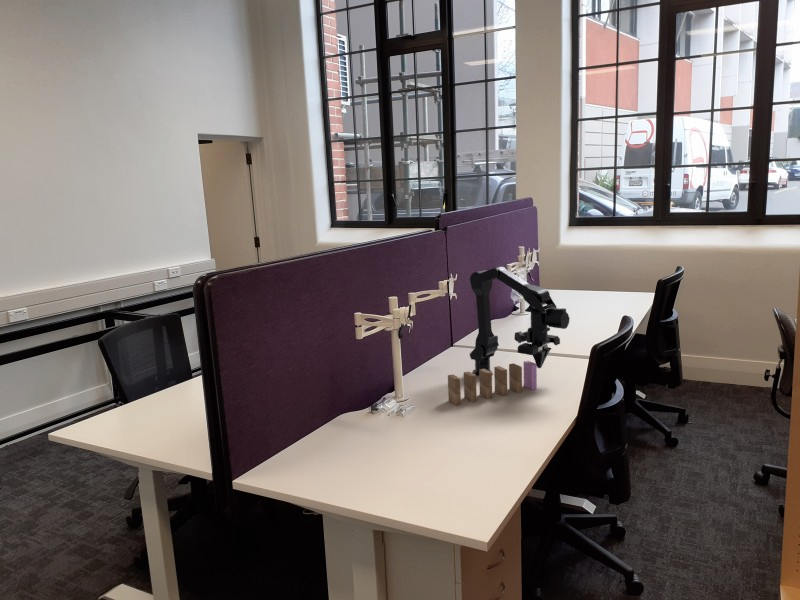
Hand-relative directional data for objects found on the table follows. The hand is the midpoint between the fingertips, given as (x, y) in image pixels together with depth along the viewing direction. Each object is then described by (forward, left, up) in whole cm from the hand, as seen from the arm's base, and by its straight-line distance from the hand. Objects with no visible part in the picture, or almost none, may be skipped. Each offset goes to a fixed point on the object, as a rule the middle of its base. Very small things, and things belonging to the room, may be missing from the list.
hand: (539, 367), depth 216 cm
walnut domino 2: (+9, -26, -6) cm, 29 cm away
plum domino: (+1, -4, -6) cm, 8 cm away
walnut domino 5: (+3, -9, -6) cm, 12 cm away
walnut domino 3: (+7, -21, -6) cm, 23 cm away
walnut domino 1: (+11, -32, -6) cm, 35 cm away
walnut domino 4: (+5, -15, -6) cm, 17 cm away
